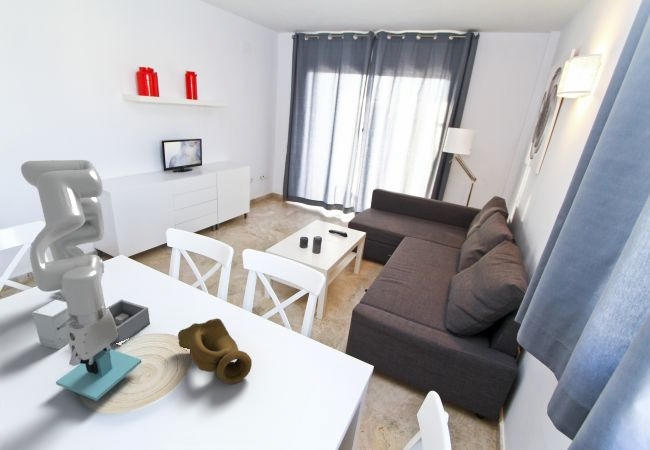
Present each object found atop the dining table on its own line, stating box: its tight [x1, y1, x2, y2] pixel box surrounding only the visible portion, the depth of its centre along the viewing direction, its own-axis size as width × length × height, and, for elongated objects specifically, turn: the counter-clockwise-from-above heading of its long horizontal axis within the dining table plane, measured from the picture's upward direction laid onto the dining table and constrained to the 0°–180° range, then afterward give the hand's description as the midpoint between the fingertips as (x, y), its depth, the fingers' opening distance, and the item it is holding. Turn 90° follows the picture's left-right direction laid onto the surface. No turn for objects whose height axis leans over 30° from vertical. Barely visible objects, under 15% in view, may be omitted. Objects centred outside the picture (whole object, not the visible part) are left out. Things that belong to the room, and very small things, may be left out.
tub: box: [106, 299, 151, 345], centre depth 107 cm, size 12×12×7 cm
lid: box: [55, 348, 143, 402], centre depth 87 cm, size 14×14×8 cm
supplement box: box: [31, 299, 69, 350], centre depth 99 cm, size 7×7×13 cm
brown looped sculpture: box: [177, 318, 252, 385], centre depth 97 cm, size 18×13×22 cm
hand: (99, 366), depth 87 cm, fingers closed on lid, 3 cm apart
